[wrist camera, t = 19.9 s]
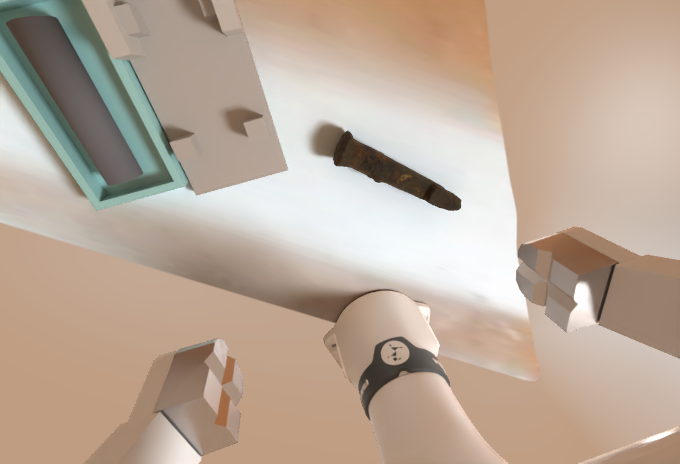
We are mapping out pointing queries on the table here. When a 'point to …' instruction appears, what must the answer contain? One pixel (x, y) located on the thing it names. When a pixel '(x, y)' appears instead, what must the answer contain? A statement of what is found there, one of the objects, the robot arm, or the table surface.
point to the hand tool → (392, 173)
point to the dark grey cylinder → (75, 95)
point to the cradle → (197, 84)
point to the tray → (117, 93)
